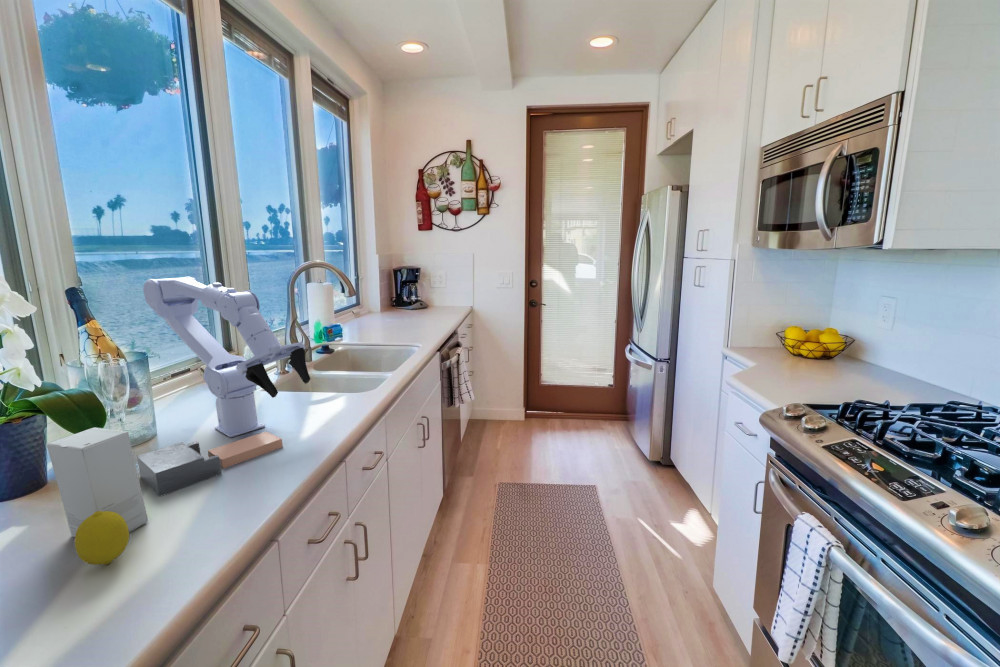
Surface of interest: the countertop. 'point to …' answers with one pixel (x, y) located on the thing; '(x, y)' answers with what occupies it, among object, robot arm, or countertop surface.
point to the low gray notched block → (176, 467)
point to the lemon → (101, 537)
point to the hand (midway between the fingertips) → (292, 388)
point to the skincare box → (97, 476)
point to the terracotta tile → (246, 448)
